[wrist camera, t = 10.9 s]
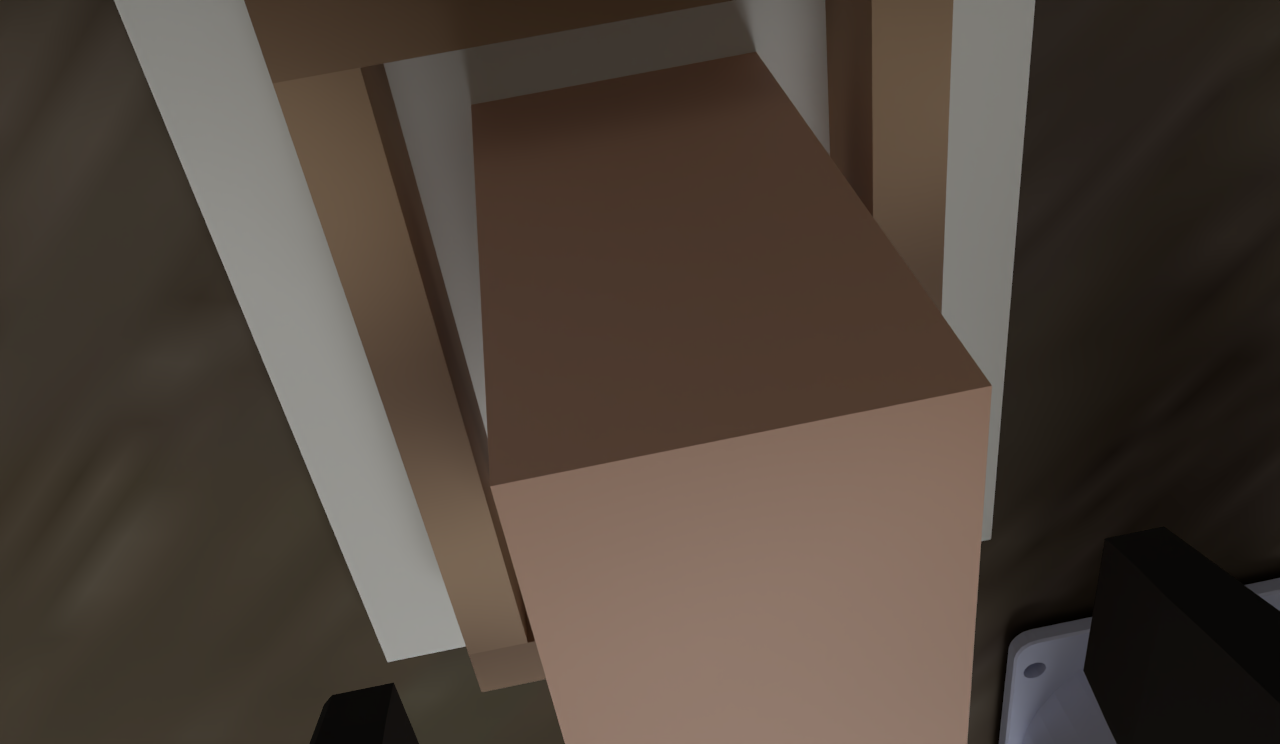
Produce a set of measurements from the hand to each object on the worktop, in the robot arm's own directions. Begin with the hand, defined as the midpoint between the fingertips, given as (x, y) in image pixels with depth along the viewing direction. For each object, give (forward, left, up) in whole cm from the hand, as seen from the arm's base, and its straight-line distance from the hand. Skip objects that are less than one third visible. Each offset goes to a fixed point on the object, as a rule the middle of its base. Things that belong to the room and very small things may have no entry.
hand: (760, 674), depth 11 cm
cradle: (0, 0, -8) cm, 8 cm away
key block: (0, 0, -7) cm, 7 cm away
